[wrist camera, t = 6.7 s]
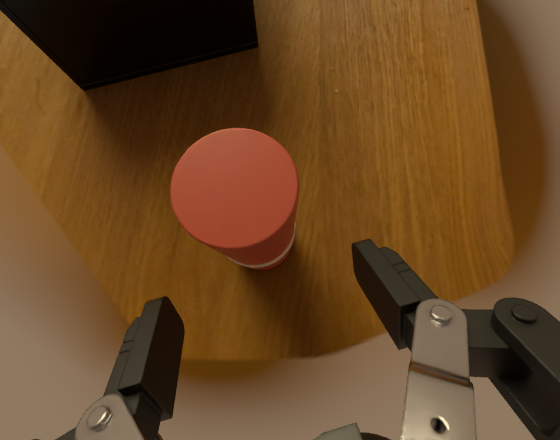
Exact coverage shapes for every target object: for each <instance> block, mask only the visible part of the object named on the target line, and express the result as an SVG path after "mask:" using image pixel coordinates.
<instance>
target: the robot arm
mask: <svg viewBox="0 0 560 440" xmlns="http://www.w3.org/2000/svg"><path fill="white" fill-rule="evenodd" d="M352 256H353V266H354V273H355V276H356V279H357V282H358V283H359V285H360V287H361V289H362V290H363V292H364V293H365V295H366V297H367V298H368V300H369V302H370V303H371V305H372V307H373V308H374V310H375V312H376V313H377V315H378V317H379V318H380V320H381V321H382V323H383V325H384V326H385V328H386V330H387V331H388V333H389V335H390V336H391V338H392V340H393V341H394V343H395V345H396V346H397V348H398V349H399V350H400V349H404V348H407V347H408V348H409V349H410V351H411V359H410V364H409V370H408V378H407V386H406V394H405V402H404V411H403V419H402V427H401V435H400V440H477V435H476V416H475V399H474V388H473V384H472V383H471V382H470V379H469V376H472V377H488V378H489V379H490V380H491V382H492V383H493V384H494V386H495V387H496V388H497V389H498V391H499V392H500V394H501V395H502V396H503V398H504V399H505V400H506V401H507V403H508V404H509V405H510V407H511V408H512V409H513V411H514V412H515V413H516V414H517V416H518V417H519V418H520V420H521V421H522V422H523V424H524V425H525V426H526V428H527V429H528V430H529V431H530V433H531V434H532V435H533V437H534V438H535V439H536V440H560V322H559V321H558V320H557V319H556V318H554V317H553V316H552V315H551V314H550V313H548V312H547V311H546V310H545V309H544V308H542V307H541V306H539V305H537V304H535V303H533V302H530V301H528V300H525V299H520V298H504V299H501V300H499V301H497V302H496V304H495V306H494V309H493V310H465V309H460V308H459V307H458V306H456V305H455V304H453V303H451V302H449V301H447V300H443V299H439V298H438V297H437V296H436V295H435V294H434V293H433V292H432V291H431V290H430V289H429V288H428V287H427V285H426V284H425V283H424V282H423V281H422V280H421V279H420V278H419V277H418V275H417V274H416V273H415V272H414V271H413V270H411V268H410V267H409V266H408V264H407V263H405V262H404V260H403V259H402V258H401V257H400V256H399V255H398V253H397V252H395V251H393V250H391V249H389V248H387V247H382V248H378V247H377V246H376V245H375V244H374V242H373V241H372V240H371V239H366V240H362V241H359V242H355V243H352ZM183 340H184V324H183V321H182V319H181V317H180V316H179V314H178V312H177V311H176V309H175V308H174V306H173V304H172V303H171V301H170V299H169V298H168V297H166V296H164V297H161V298H157V299H154V300H150V301H147V302H146V304H145V306H144V309H143V312H142V315H141V317H137V318H136V319H135V320H134V321H133V323H132V324H131V326H130V327H129V328H128V330H127V332H126V335H125V338H124V340H123V345H122V346H121V349H120V351H119V355H118V357H117V360H116V362H115V365H114V368H113V371H112V373H111V376H110V379H109V382H108V385H107V388H106V390H105V393H104V395H103V397H102V398H100V399H99V400H97V401H96V402H94V403H93V404H92V405H91V406H90V407H89V408H88V409H87V410H86V412H85V413H84V414H83V416H82V417H81V419H80V420H79V422H78V424H77V427H75V428H74V429H72V430H70V431H69V432H67V433H66V434H65V435H62V436H61V437H59V438H58V439H56V440H163V439H162V437H161V436H160V434H159V433H158V430H159V425H160V422H161V421H164V420H167V419H171V418H172V415H173V409H174V401H175V395H176V388H177V381H178V374H179V367H180V361H181V354H182V347H183ZM34 440H39V439H34ZM314 440H390V439H388V438H386V437H383V436H380V435H377V434H371V433H361V432H360V431H359V428H358V426H357V423H353V424H350V425H347V426H344V427H340V428H337V429H334V430H331V431H328V432H324V433H323V434H321V435H320V436H318V437H317V438H315V439H314Z"/></svg>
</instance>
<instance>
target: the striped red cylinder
mask: <svg viewBox="0 0 560 440" xmlns="http://www.w3.org/2000/svg"><path fill="white" fill-rule="evenodd" d="M298 193H299V180H298V174H297V170H296V167H295V164H294V162H293V160H292V158H291V157H290V155H289V153H288V152H287V151H286V150H285V148H284V147H283V146H282V145H281V144H280V143H278V142H277V141H276V140H274V139H273V138H271V137H270V136H268V135H266V134H264V133H261V132H259V131H255V130H252V129H246V128H229V129H223V130H219V131H216V132H213V133H211V134H208V135H206V136H204V137H203V138H201V139H199V140H198V141H197V142H195V143H194V144H193V145H191V146H190V147H189V148H188V149H187V150H186V152H185V153H184V154H183V155H182V157H181V158H180V160H179V162H178V163H177V165H176V168H175V170H174V173H173V176H172V180H171V186H170V196H171V204H172V207H173V211H174V213H175V215H176V218H177V219H178V221H179V223H180V224H181V226H182V227H183V228H184V229H185V230H186V232H188V233H189V234H190V235H191V236H192V237H193V238H195V239H196V240H198V241H199V242H201V243H203V244H205V245H207V246H209V247H211V248H212V249H214V250H216V251H218V252H220V253H222V254H224V255H225V256H227V257H228V258H229V259H230V260H232V261H233V262H235V263H237V264H239V265H242V266H245V267H248V268H251V269H254V270H268V269H271V268H274V267H276V266H278V265H279V264H281V263H282V262H283V261H284V260H285V259H286V257H287V256H288V254H289V252H290V250H291V247H292V243H293V240H294V237H295V231H296V221H295V218H296V210H297V202H298Z"/></svg>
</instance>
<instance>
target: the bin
mask: <svg viewBox="0 0 560 440" xmlns="http://www.w3.org/2000/svg"><path fill="white" fill-rule="evenodd" d="M0 10H1V11H2V12H3V13H4V14H5V15H6V16H7V17H8V18H9V19H10V20H11V21H12V22H13V23H14V24H15V25H16V26H17V27H18V28H19V29H20V30H21V31H22V32H23V33H24V34H26V35H27V36H28V37H29V38H30V39H31V40H32V41H33V42H34V43H35V44H36V45H37V46H38V47H39V48H40V49H41V50H42V51H43V52H44V53H45V54H46V55H47V56H48V57H49V58H50V59H51V60H52V61H53V62H54V63H55V64H56V65H57V66H58V67H60V68H61V69H62V70H63V71H64V72H65V73H66V74H67V75H68V76H69V77H70V78H71V79H72V80H73V81H74V82H75V83H76V84H77V85H78V86H79V87H80V88H81V89H82V90H83V91H84V90H88V89H92V88H96V87H100V86H104V85H108V84H112V83H116V82H120V81H124V80H128V79H132V78H136V77H140V76H144V75H148V74H152V73H156V72H160V71H164V70H168V69H172V68H176V67H180V66H183V65H187V64H191V63H195V62H199V61H203V60H207V59H211V58H215V57H219V56H223V55H227V54H231V53H235V52H239V51H243V50H247V49H251V48H255V47H258V38H257V30H256V21H255V13H254V4H253V0H0Z"/></svg>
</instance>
